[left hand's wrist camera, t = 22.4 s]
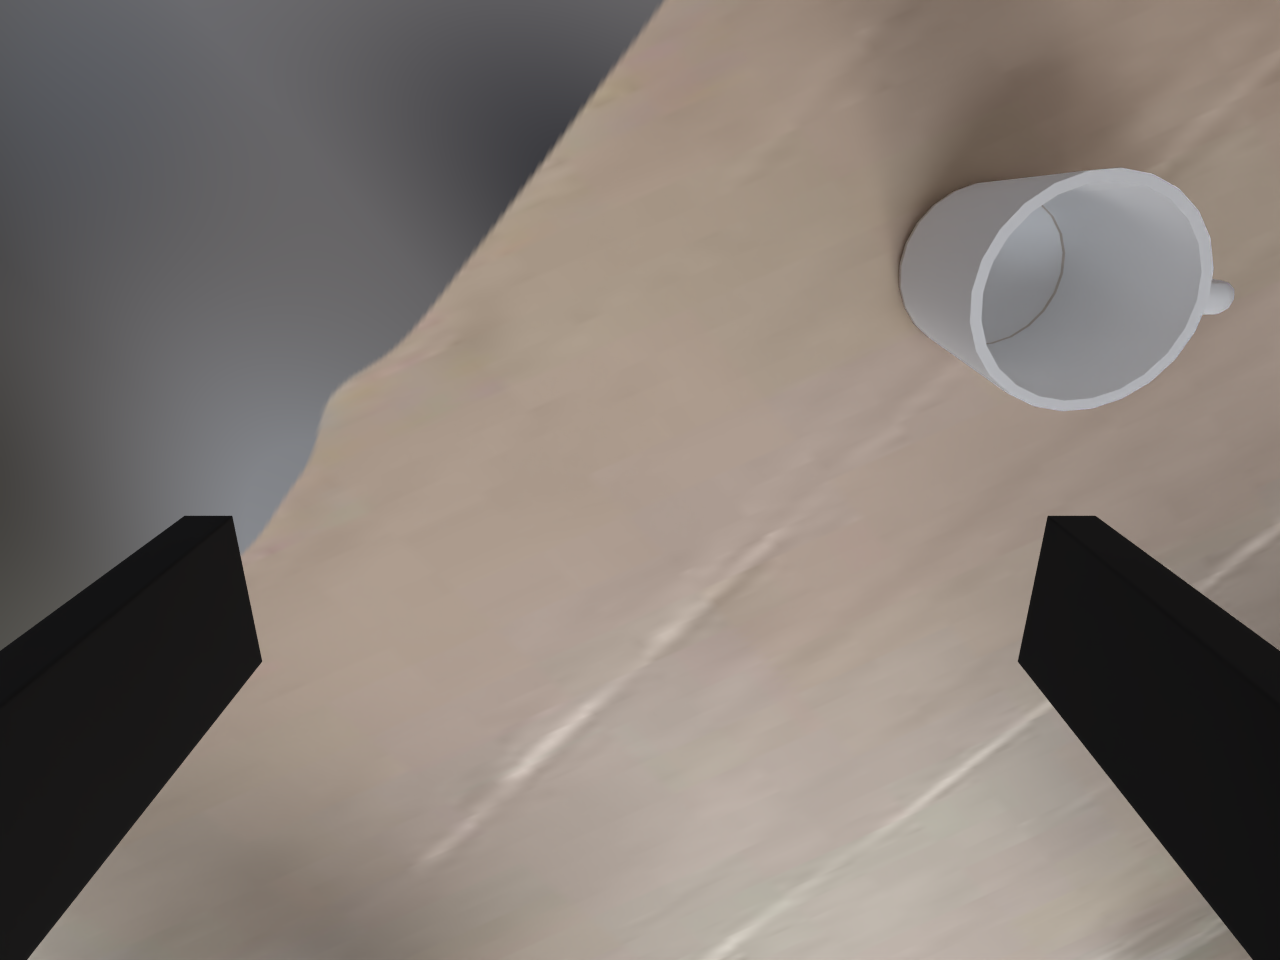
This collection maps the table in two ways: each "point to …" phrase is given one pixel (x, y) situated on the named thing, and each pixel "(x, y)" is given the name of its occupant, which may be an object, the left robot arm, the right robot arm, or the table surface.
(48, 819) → the left robot arm
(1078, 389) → the mug
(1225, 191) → the table surface
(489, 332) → the table surface
